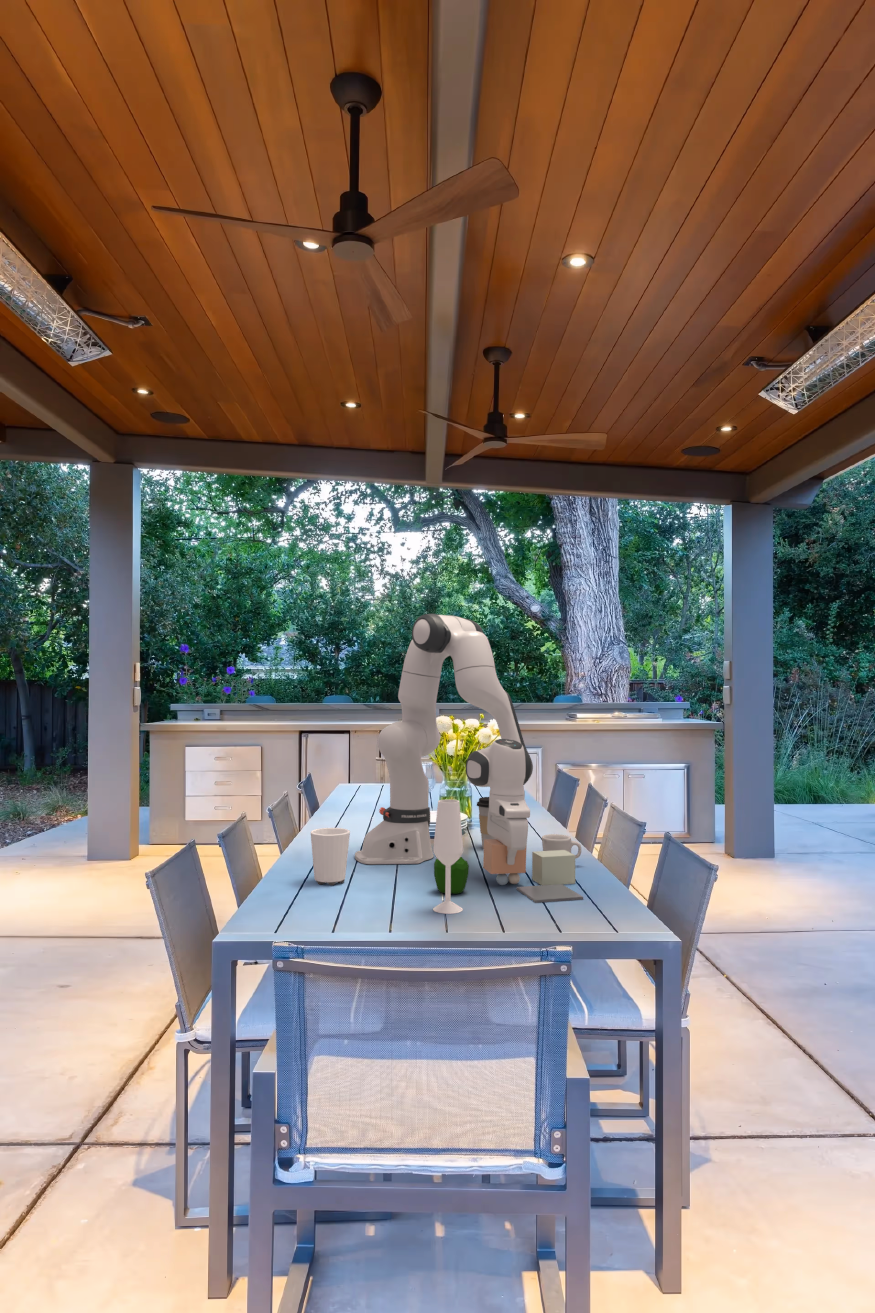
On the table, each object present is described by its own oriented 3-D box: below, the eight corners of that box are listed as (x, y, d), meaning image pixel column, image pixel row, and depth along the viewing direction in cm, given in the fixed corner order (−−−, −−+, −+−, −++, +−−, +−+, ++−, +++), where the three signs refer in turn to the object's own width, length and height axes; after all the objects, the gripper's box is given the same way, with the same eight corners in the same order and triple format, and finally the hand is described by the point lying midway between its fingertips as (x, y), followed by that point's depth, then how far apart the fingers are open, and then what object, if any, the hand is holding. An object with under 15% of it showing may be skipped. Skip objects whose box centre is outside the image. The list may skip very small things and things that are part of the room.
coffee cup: (508, 852, 241) (508, 801, 241) (476, 851, 241) (477, 801, 241) (506, 845, 250) (506, 796, 250) (475, 845, 250) (475, 796, 250)
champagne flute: (433, 904, 185) (434, 798, 185) (462, 905, 184) (463, 799, 185) (432, 913, 178) (433, 803, 178) (462, 914, 178) (463, 803, 178)
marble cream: (512, 887, 202) (509, 875, 202) (508, 884, 205) (504, 873, 205) (523, 883, 203) (519, 871, 202) (518, 880, 205) (515, 869, 205)
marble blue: (499, 887, 201) (498, 875, 201) (495, 884, 204) (494, 872, 204) (510, 885, 202) (509, 873, 202) (506, 882, 205) (505, 870, 205)
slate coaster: (535, 902, 187) (535, 900, 187) (516, 889, 198) (516, 887, 198) (583, 899, 190) (583, 896, 190) (561, 886, 202) (561, 884, 202)
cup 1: (301, 882, 204) (302, 831, 204) (332, 875, 211) (332, 826, 211) (327, 889, 197) (327, 836, 197) (357, 882, 204) (358, 831, 205)
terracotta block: (491, 874, 199) (491, 845, 199) (483, 867, 205) (484, 839, 205) (525, 873, 201) (526, 844, 201) (516, 866, 208) (517, 838, 208)
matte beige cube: (542, 885, 202) (542, 857, 202) (532, 879, 208) (532, 851, 208) (575, 883, 205) (575, 855, 205) (564, 877, 211) (564, 850, 211)
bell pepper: (472, 889, 199) (472, 847, 199) (464, 897, 191) (464, 854, 191) (439, 886, 201) (439, 845, 201) (429, 894, 193) (430, 852, 193)
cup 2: (580, 863, 227) (580, 834, 227) (582, 870, 219) (582, 840, 219) (541, 862, 228) (541, 833, 228) (542, 869, 220) (542, 839, 220)
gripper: (482, 798, 213) (480, 851, 213) (508, 812, 193) (506, 871, 193) (504, 797, 214) (503, 850, 214) (533, 812, 194) (531, 870, 194)
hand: (504, 860), depth 203 cm, fingers closed on terracotta block, 6 cm apart
